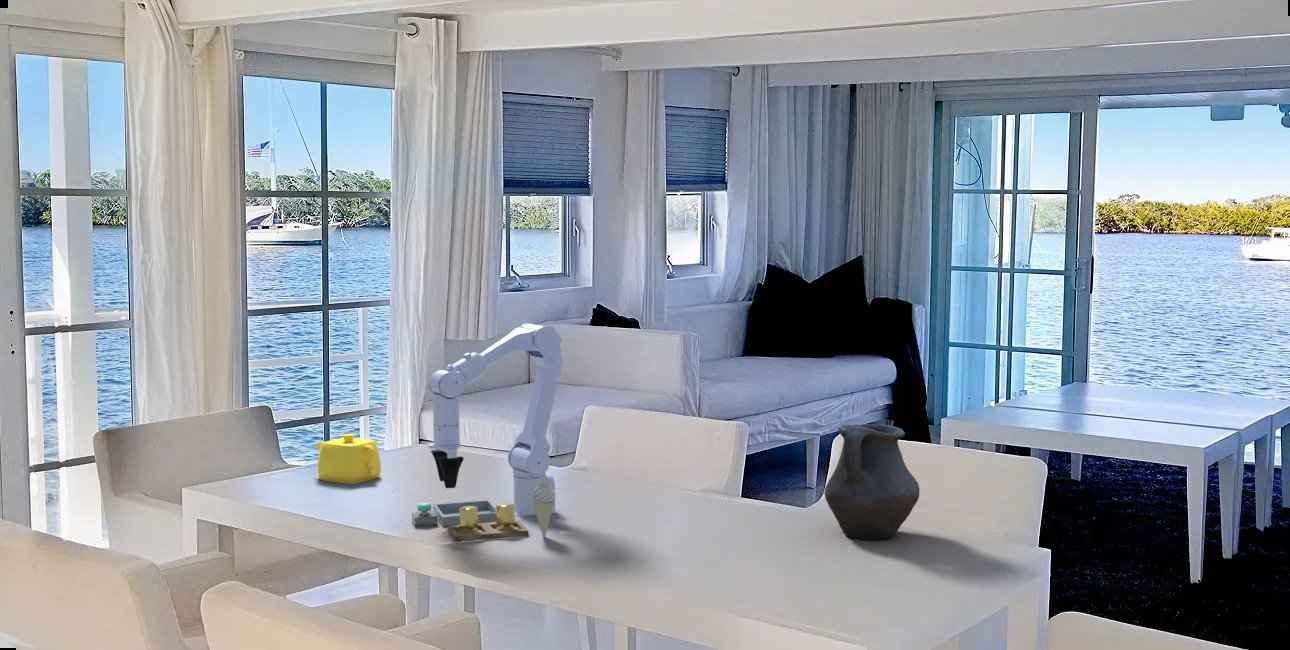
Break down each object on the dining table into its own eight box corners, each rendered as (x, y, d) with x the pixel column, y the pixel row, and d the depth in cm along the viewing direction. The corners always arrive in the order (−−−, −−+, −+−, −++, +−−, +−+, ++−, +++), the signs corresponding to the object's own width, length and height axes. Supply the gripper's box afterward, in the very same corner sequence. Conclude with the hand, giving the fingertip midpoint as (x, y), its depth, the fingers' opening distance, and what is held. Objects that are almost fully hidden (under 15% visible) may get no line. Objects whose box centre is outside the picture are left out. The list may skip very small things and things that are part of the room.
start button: (430, 518, 293) (430, 502, 293) (432, 521, 290) (432, 505, 290) (417, 519, 292) (416, 503, 292) (418, 522, 290) (418, 506, 289)
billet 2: (512, 529, 288) (512, 502, 287) (516, 533, 284) (516, 506, 283) (494, 530, 286) (494, 504, 286) (498, 535, 283) (498, 508, 282)
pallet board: (518, 525, 291) (518, 519, 291) (528, 535, 282) (528, 530, 281) (447, 531, 286) (447, 525, 286) (455, 542, 277) (455, 536, 276)
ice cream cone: (534, 540, 277) (534, 471, 276) (530, 535, 282) (529, 467, 281) (557, 539, 279) (557, 470, 277) (553, 533, 284) (552, 465, 282)
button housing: (434, 521, 295) (434, 510, 294) (437, 526, 290) (437, 515, 290) (412, 523, 293) (411, 512, 293) (415, 528, 288) (414, 517, 288)
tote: (489, 509, 306) (489, 500, 305) (500, 522, 293) (500, 512, 293) (433, 514, 302) (433, 504, 301) (442, 527, 289) (442, 517, 289)
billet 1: (475, 532, 285) (475, 505, 285) (480, 536, 281) (479, 509, 281) (457, 533, 284) (457, 507, 283) (462, 538, 280) (461, 510, 279)
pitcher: (932, 530, 284) (933, 418, 282) (898, 553, 266) (900, 433, 263) (844, 519, 295) (845, 410, 292) (805, 541, 276) (806, 425, 274)
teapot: (302, 478, 343) (301, 434, 341) (335, 470, 353) (334, 427, 352) (358, 486, 332) (357, 441, 331) (391, 477, 343) (390, 433, 342)
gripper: (423, 420, 295) (424, 479, 296) (433, 430, 281) (434, 492, 282) (454, 418, 297) (455, 476, 298) (465, 428, 283) (466, 489, 284)
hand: (447, 484), depth 290 cm, fingers open, 7 cm apart
